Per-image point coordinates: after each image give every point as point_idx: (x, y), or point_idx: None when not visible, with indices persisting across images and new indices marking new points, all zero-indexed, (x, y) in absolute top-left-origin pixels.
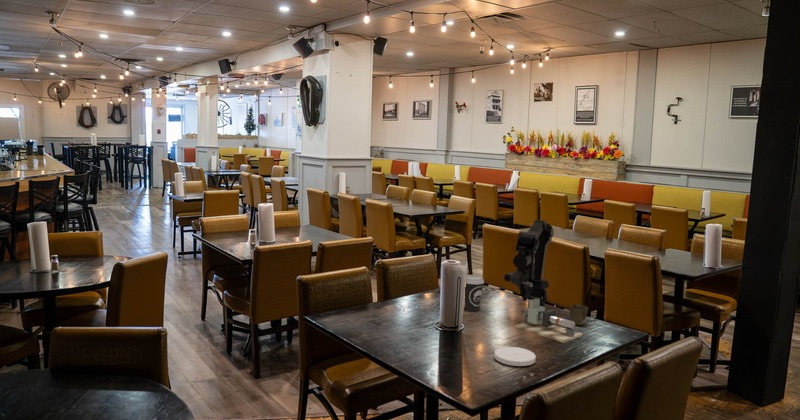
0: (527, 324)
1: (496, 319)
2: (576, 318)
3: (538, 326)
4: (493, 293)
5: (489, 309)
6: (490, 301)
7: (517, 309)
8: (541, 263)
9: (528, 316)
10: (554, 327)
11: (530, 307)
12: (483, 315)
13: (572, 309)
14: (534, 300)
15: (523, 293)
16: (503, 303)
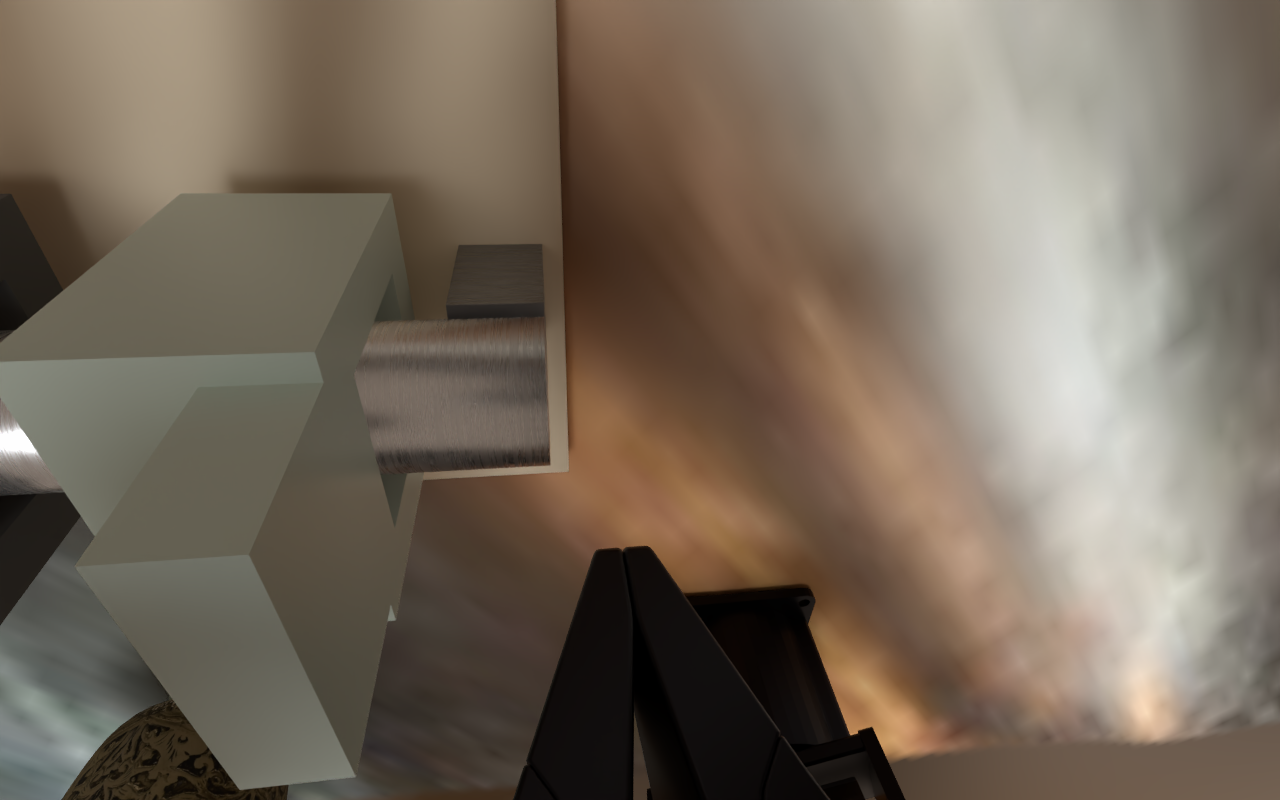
0: (441, 220)
1: (1004, 107)
2: (127, 733)
3: None
4: (1220, 686)
5: (1195, 384)
6: (1220, 561)
7: (910, 583)
8: None
9: (347, 242)
10: None
11: (263, 392)
12: (1249, 107)
13: None
14: (150, 651)
15: (677, 753)
16: (1086, 601)
